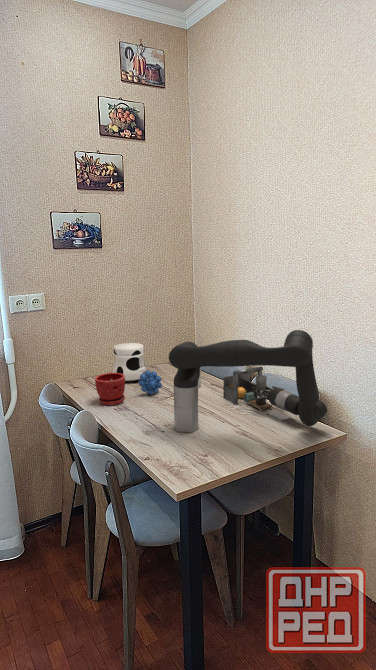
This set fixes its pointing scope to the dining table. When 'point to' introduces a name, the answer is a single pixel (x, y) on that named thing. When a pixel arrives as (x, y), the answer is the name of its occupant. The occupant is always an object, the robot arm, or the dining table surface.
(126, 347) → the milk container
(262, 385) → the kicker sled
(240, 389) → the ball
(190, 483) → the dining table surface
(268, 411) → the rail
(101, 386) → the plant pot
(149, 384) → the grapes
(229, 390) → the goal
